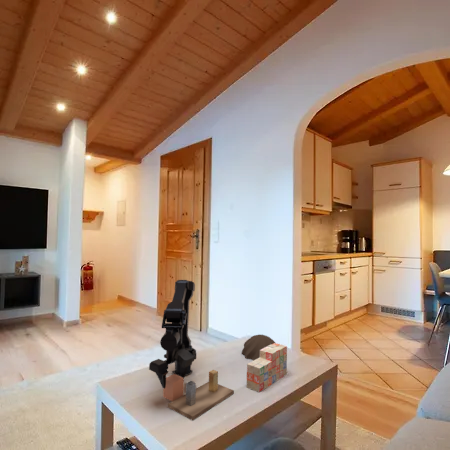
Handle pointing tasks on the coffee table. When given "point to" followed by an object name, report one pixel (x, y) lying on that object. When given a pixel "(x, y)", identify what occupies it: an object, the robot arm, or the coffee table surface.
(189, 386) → the steel post
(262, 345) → the decorative dome
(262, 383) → the stack of blocks
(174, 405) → the board
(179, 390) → the salmon orange block
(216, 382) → the brass post
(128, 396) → the coffee table surface
